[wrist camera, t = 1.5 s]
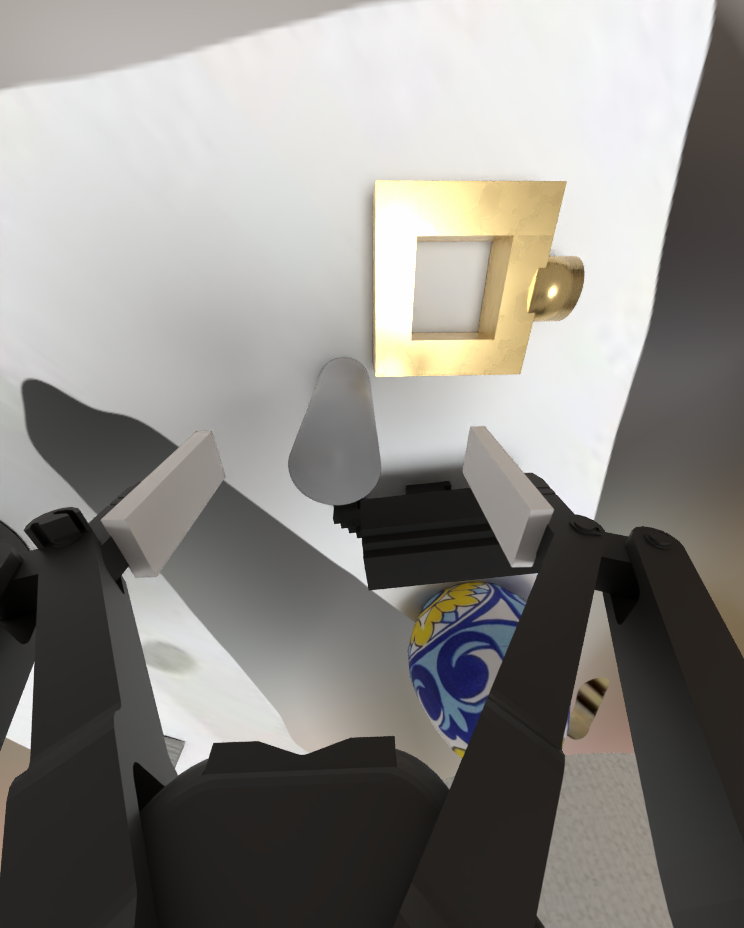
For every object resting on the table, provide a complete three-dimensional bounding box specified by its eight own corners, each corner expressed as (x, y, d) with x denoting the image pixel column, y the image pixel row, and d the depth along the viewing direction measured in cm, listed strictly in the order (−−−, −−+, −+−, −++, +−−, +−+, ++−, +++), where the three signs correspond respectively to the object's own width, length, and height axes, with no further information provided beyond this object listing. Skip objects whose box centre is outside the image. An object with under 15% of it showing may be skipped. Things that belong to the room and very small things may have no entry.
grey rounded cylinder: (321, 408, 28) (295, 506, 16) (316, 357, 25) (281, 427, 13) (370, 407, 28) (380, 503, 16) (369, 356, 26) (381, 425, 14)
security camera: (329, 475, 32) (320, 548, 23) (510, 455, 31) (568, 522, 23) (340, 525, 35) (335, 605, 27) (502, 508, 35) (549, 583, 26)
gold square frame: (373, 365, 26) (376, 378, 23) (372, 195, 20) (376, 178, 17) (530, 362, 26) (556, 375, 23) (572, 195, 21) (615, 178, 17)
